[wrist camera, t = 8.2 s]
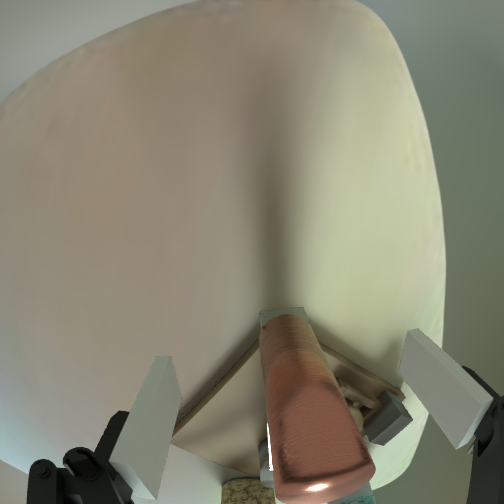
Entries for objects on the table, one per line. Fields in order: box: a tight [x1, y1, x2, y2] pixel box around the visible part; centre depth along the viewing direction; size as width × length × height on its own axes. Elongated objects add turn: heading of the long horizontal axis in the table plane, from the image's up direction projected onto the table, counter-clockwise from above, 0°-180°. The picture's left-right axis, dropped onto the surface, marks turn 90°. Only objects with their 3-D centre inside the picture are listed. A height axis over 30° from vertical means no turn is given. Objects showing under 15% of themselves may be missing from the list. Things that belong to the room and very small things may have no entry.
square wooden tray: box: [170, 338, 413, 477], centre depth 22 cm, size 18×19×6 cm
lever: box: [259, 307, 376, 504], centre depth 14 cm, size 21×5×12 cm, turn 4°
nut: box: [348, 404, 363, 431], centre depth 21 cm, size 4×4×4 cm
